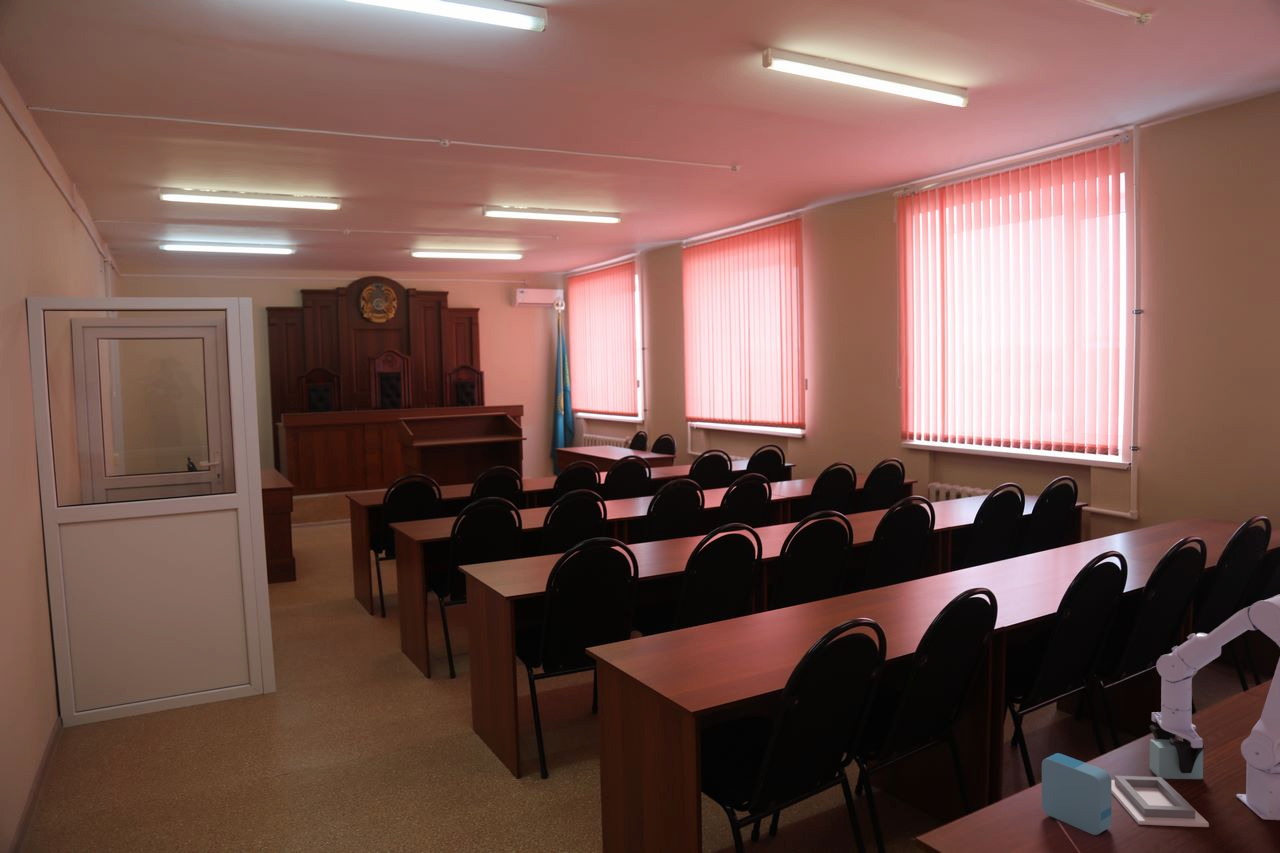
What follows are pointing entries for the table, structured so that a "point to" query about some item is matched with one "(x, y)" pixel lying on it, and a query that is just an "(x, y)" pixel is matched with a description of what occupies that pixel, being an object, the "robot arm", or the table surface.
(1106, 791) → the data package
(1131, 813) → the socket plate
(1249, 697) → the table surface
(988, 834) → the table surface
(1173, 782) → the table surface
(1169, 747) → the key block
